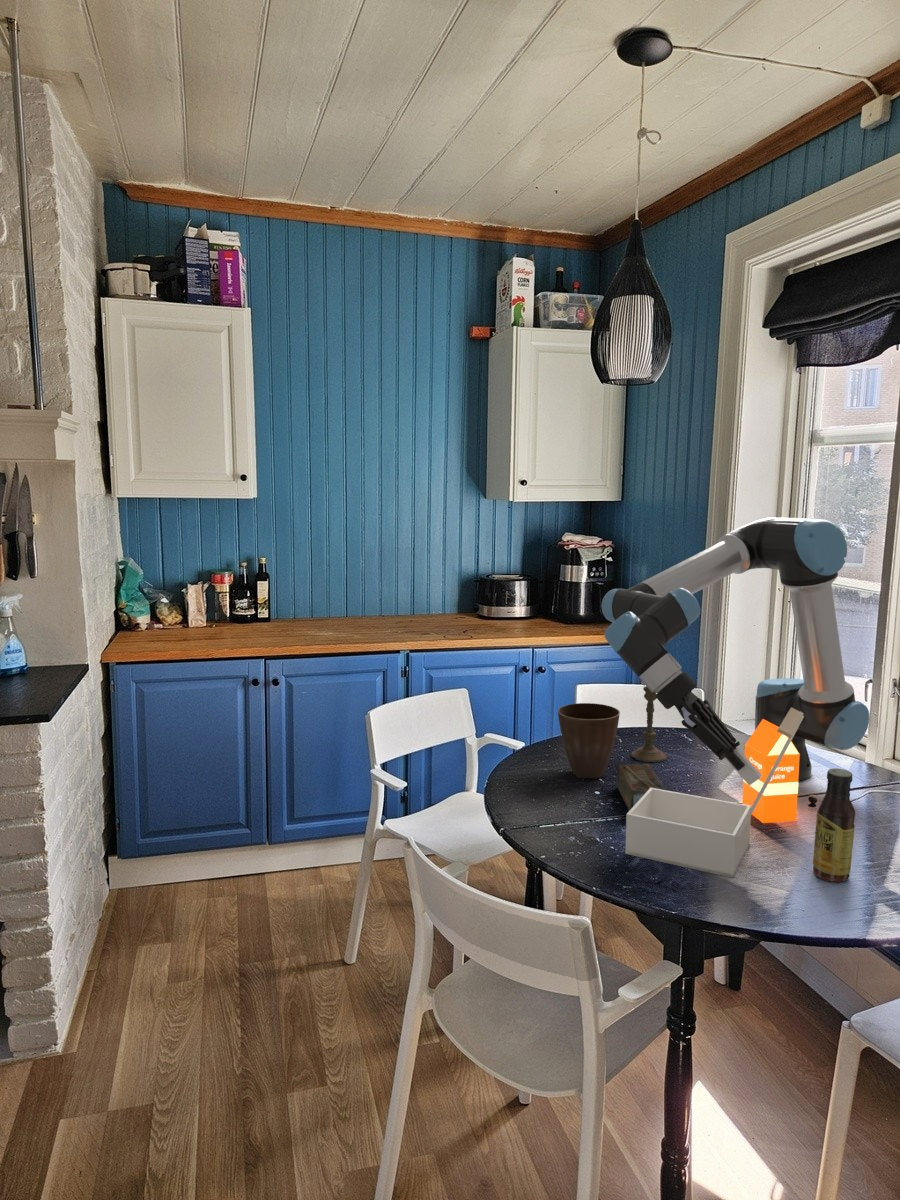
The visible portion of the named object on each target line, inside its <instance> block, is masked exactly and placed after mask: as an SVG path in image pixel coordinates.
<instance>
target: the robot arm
mask: <svg viewBox="0 0 900 1200" xmlns="http://www.w3.org/2000/svg"><path fill="white" fill-rule="evenodd" d="M847 555H848V543H847V540H846V537H845V534H844V533H843V531H842V529H841V528H840V526H838V525H836V524H835V523H833V522H832V521H829V520H827V519H820V518H819V519H818V518H815V517H807V518H801V517H776V516H775V517H774V516H773V517H766V518H761V519H758V520H754V521H752V522H750V523H747V524H744V525H742V526H739V527H738V528H735V529H734V530H731V531H730V532H728V533H725V534H723V535H721V536H720V537H719V538H718V539H717V542H716V544H714V545H712V546H709V547H708V548H706V549H703V550H702V551H700V552H698V553H696V554H694V555H692V556H690V557H688V558H686V559H684V560H682V561H681V562H678V563H677V564H675V565H673V566H670V567H669V568H666V569H665V570H663V571H661V572H659V573H657V574H655V575H652V576H651V577H650V578H647V579H645V580H643V581H641V582H640V583H638V584H635V585H633V586H631V587H629V588H626V589H625V588H613V589H611V590H609V591H607V593H606V594H604V596H603V598H602V602H601V611H602V615H603V616H604V618H605V619H606V620H607V621H609V622H611V624H610V625H609V626H608V627H607V628H606V629H605V631H604V635H603V636H604V639H605V640H606V642H607V643H608V644H609V645H610V647H611V648H612V650H614V652H615V654H617V655H618V657H620V658H621V659H622V660H623V662H624V663H625V664H626V665H627V666H628V667H629V669H631V670H632V672H633V673H634V674H635V676H637V677H638V678H639V680H640V681H641V685H642V686H643V687H645V686H647V687H648V689H649V690H650V691H651V692H654V691H655V692H656V700H658V701H659V703H660V704H661V705H662V707H664V708H665V709H666V710H669V709H671V708H672V707H675V708H676V710H677V711H678V713H679V715H680V716H681V718H682V719H683V720H682V721H681V724H682V726H683V727H685V728H686V729H687V730H689V731H690V732H691V733H692V734H693V735H694V736H695V737H696V738H697V739H699V740H700V741H701V742H702V743H703V744H704V745H705V746H706V747H707V748H708V749H709V750H710V751H711V752H712V753H713V754H714V755H716V757H717V758H718V760H719V761H723V759H725V760H726V761H727V762H728V764H729V765H731V767H732V768H733V769H734V770H735V771H736V772H737V773H738V775H739V776H740V777H741V778H742V779H744V780H745V781H746V782H747V784H748V785H749V786H750V785H751V784H753V783H754V782H755V781H757V780H758V779H760V778H761V776H762V774H761V773H760V772H759V771H758V770H757V769H756V768H755V767H754V765H753V764H752V763H751V762H750V761H749V760H748V759H747V758H746V757H745V753H743V752H742V751H741V750H740V749H739V746H740V745H741V742H740V741H737V739H736V737H735V736H734V735H733V734H732V733H731V732H730V730H729V729H728V727H727V726H726V725H725V724H724V722H723V720H721V719H720V716H718V714H717V713H716V711H715V710H714V709H713V708H712V706H711V704H710V702H709V701H708V700H707V699H704V700H702V699H701V698H700V697H698V696H697V695H696V694H694V693H693V692H692V691H693V690H694V689H695V688H697V682H696V681H695V680H694V679H693V678H692V677H691V676H690V675H689V674H688V673H687V671H682V669H683V666H681V664H680V663H679V662H678V660H676V658H674V656H672V654H671V653H670V652H668V650H666V648H665V645H666V644H667V643H669V642H670V641H672V640H673V639H674V638H675V637H676V636H678V635H679V634H681V633H682V632H683V631H685V630H686V629H688V628H689V627H690V625H691V624H693V622H694V621H696V620H697V619H698V618H699V617H700V614H701V607H700V604H699V602H698V600H697V597H695V596H694V594H696V593H697V592H699V591H702V590H704V589H705V588H707V587H709V586H712V585H714V584H715V583H717V582H719V581H720V580H723V579H724V578H727V577H728V576H730V575H732V574H736V575H740V574H743V573H745V572H748V571H750V570H755V569H770V570H777V571H778V573H779V579H780V583H781V585H782V586H784V587H785V588H787V589H788V590H789V594H790V600H791V601H790V602H791V608H792V614H793V621H794V628H795V634H796V641H797V647H798V654H799V660H800V661H799V662H800V667H801V672H802V678H790V677H789V678H770V679H765V680H762V681H760V682H759V683H758V685H757V687H756V688H757V689H756V696H755V709H754V710H755V711H754V712H755V713H754V714H755V718H754V731H755V730H756V728H757V727H758V725H759V724H760V722H761V721H762V720H763V719H764V720H766V721H768V722H770V723H772V724H774V725H776V726H778V727H780V725H781V723H782V722H783V720H784V718H785V717H786V715H787V713H788V712H789V710H790V708H791V707H792V708H794V709H796V710H798V711H800V712H802V713H804V714H803V716H804V717H803V719H802V721H801V723H800V725H799V727H798V729H797V731H796V733H795V735H794V736H793V738H792V740H791V741H792V743H793V744H794V746H795V748H796V749H797V751H798V752H799V754H800V758H799V776H798V782H799V781H803V780H807V779H808V778H810V777H811V776H812V769H813V767H812V763H811V758H810V755H809V753H808V749H807V745H806V740H807V741H810V742H813V743H816V744H819V745H822V746H825V747H826V748H827V749H828V748H829V749H836V750H840V751H847V750H850V749H852V748H854V747H855V746H857V745H858V744H859V743H860V742H861V741H862V739H863V737H864V736H865V734H866V733H867V730H868V727H869V723H870V711H869V708H868V706H867V705H865V704H864V703H863V702H862V701H858V700H856V697H855V690H854V687H853V685H852V684H851V683H849V682H848V681H846V678H845V673H844V670H845V669H844V665H843V664H844V663H843V657H842V650H841V643H840V635H839V629H838V622H837V621H838V620H837V615H836V609H835V608H836V607H835V606H836V605H835V600H834V593H833V592H834V590H833V586H832V584H833V583H834V582H835V581H836V580H837V579H838V577H839V571H840V570H842V569H843V567H844V566H845V562H846V560H845V558H847Z"/></svg>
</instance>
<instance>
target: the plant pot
mask: <svg viewBox="0 0 900 1200" xmlns="http://www.w3.org/2000/svg"><path fill="white" fill-rule="evenodd" d="M557 714H558V715H557V716H558V722H559V723H558V724H559V730H560V733H561V734H560V735H561V738H562V739H561V740H562V743H563V747H564V750H565V754H566V758H567V760H568V763H569V766H570V770H571V771H572V774H573V773H574V774H575V775H576V777H577V776H578V777H577V778H580V777H582V778H581V779H586V778H590V779H589V780H591V778H592V779H598V778H601V777H603V776H604V774H605V773H606V769H607V766H608V764H609V761H610V758H611V755H612V753H613V748H614V745H615V743H616V742H615V741H616V736H617V732H618V727H619V721H620V714H621V712H620V710H619V709H617V708H616V707H614V706H611V705H608V704H601V703H591V702H589V703H588V702H585V703H584V702H581V703H580V702H579V703H569V704H565V705H563V706H560V707H559V708H558V709H557ZM574 774H573V775H574ZM575 775H574V776H575Z"/></svg>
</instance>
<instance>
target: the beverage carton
mask: <svg viewBox="0 0 900 1200" xmlns="http://www.w3.org/2000/svg"><path fill="white" fill-rule="evenodd" d="M616 775H617V776H616V783H617V784H616V786H617V789H618V791H619V793H620V795H621V798H622V799H623V801H624V803H625V805H626V807H627V809H628V812H629V811H630V810H631V809H632V808H633V806H634V805H635V804H636V803H637V802H638V801H639V800H640V799H641V798H642V796H643V795H644V794H645V793H646V792H647V791H648V790H649V789H650V788H656V789H661V790H666V789H665V787H664V785H663V783H662V782H661V780H660V778H659V777H658V775H657V774H656V772H655V770H654V769H653V768H652V765H651V764H650V763H649V762H644V763H618V764H617V766H616Z"/></svg>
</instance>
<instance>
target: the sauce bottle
mask: <svg viewBox="0 0 900 1200" xmlns="http://www.w3.org/2000/svg"><path fill="white" fill-rule="evenodd" d="M826 779H827V784H826V791H825V792H826V793H825V794H824V796H823V798H822V801H821V803H820V805H819V807H818V809H817V811H816V819H815V821H816V822H815V830H814V834H815V835H814V844H813V845H814V846H813V847H814V848H813V856H812V866H813V867H812V868H813V869H812V870H813V873H814V875H816V877H818V878H820V879H823V881H827V882H834V883H842V882H846V881H848V880H849V878H850V873H851V870H852V869H851V867H852V859H853V849H854V848H853V846H854V837H855V836H854V835H855V819H856V818H855V817H856V810H855V807H854V805H853V803H852V801H851V799H850V797H851V784H852V782H853V773H852V772H851V771H849V770H847V769H843V768H839V767H838V768H834V767H833V768H830V769H828V770H827V773H826Z"/></svg>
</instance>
